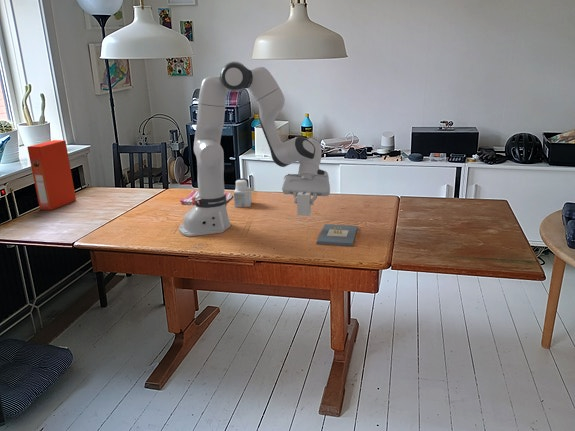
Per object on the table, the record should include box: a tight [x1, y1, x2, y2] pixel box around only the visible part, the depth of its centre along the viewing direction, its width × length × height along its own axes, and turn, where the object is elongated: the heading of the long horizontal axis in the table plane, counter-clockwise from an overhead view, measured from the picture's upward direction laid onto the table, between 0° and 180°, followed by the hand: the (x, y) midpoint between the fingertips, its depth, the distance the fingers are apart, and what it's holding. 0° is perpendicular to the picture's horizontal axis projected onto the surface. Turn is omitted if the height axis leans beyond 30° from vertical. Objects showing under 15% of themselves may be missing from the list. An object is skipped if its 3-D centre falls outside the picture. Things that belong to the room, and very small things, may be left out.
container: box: [233, 177, 253, 208], centre depth 251 cm, size 8×8×13 cm
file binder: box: [26, 139, 77, 211], centre depth 257 cm, size 8×17×32 cm, turn 161°
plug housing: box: [296, 192, 312, 217], centre depth 212 cm, size 4×5×9 cm
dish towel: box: [179, 189, 234, 206], centre depth 262 cm, size 17×23×4 cm
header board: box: [316, 223, 358, 247], centre depth 207 cm, size 20×14×4 cm
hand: (303, 203), depth 211 cm, fingers closed on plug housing, 5 cm apart
